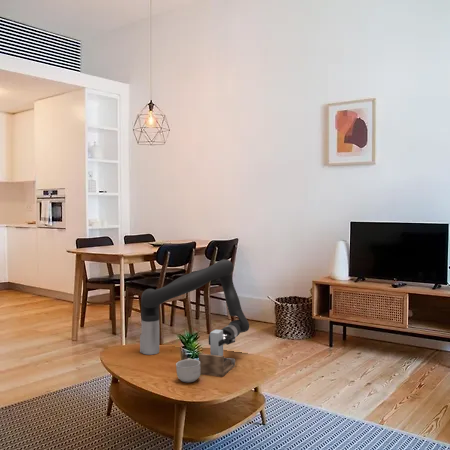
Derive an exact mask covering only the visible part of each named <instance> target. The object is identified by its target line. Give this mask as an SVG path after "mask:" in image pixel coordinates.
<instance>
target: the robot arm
mask: <svg viewBox="0 0 450 450" xmlns="http://www.w3.org/2000/svg"><path fill="white" fill-rule="evenodd" d="M233 271H234V264H233V263H232V261H231V260H229V259H225V258H224V259H220V260H219V261H217V262H215V263H213V264H211V265H209V266H208V267H204V268H201V269H198V270H194V271H192V272H190V273H187V274H184V275H181V276H180V277H177V278H176V279H174V280H173V281H171V282H170V283H168V284H166V285H164V286H162V287H159V288H156V289H154V288H147V289H144V291H143V292H142V294H141V299H140V303H141V304H140V305H141V307H140V310H141V311H140V315H141V334H139V353H141V354H143V355H156V354H159V353H160V305H162V304H164V303H165V302H167V301H169V300H171V299H174V298H178V297H180V296H183V295H185V294H188V293H191V292H193V291H195V290H197V289H200V288H201V287H203V286H204V285H206V284H208V283H209V282H211V281H214V280H217V279H219V281H220V285H221V287H222V290H223V294H224V298H225V303H226V306H227V307H226V308H227V310H228V315H229V316H230V317H237V318H238V319H235V320H232V321H230V322H229V323H228V325H226V326H224V327H223V328H221V329H220V330H223V339H222V340H220V341H219V342H218V346H221V345H223V346H224V345H228V346H229V345H230V344H233V343H236V338H237V337H238V336H239V335H240V334H241V333H245V332H248V331H249V329H250V323H249V320H248V319H247V317H246V315H245V314H244V311H243V308H242V306H241V302H240V298H239V296H238V293H237V291H236V289H235V285H234V282H233V281H234V280H233ZM208 345H209V346H210V333H209V335H208Z"/></svg>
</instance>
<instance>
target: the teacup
mask: <svg viewBox="0 0 450 450" xmlns="http://www.w3.org/2000/svg"><path fill="white" fill-rule="evenodd" d="M175 367H176V369H175V370H176V376H177V378H178V380H180V381H181V382H183V383H194V382H196V381H197V380H198V379H199V377H200V376H201V374H200V361H199V359H195V358H193V359H192V358H189V357H188V358H186V359H182V360H179V361H177V362H176V363H175Z"/></svg>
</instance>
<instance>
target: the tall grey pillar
mask: <svg viewBox="0 0 450 450" xmlns="http://www.w3.org/2000/svg"><path fill="white" fill-rule="evenodd" d="M209 334H210V345H209V346H210V348H209V349H210V355H218V356H224V345H221V346H218V342H219V341H220V340H222V339H223V330H221V329H216V328H215V329H214V330H212V331H211V332H209Z"/></svg>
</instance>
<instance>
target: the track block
mask: <svg viewBox="0 0 450 450" xmlns="http://www.w3.org/2000/svg"><path fill="white" fill-rule="evenodd" d="M198 360H199V361H200V375H208V376H212V377H213V376H215V377H222V378H224V376H226V375H227V374H228V373H229V372H230V371H231V370H233V368H235V367H236V358H230V357H225V356H224V355H223V356H218V355H210V354H209V353H198Z"/></svg>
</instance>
